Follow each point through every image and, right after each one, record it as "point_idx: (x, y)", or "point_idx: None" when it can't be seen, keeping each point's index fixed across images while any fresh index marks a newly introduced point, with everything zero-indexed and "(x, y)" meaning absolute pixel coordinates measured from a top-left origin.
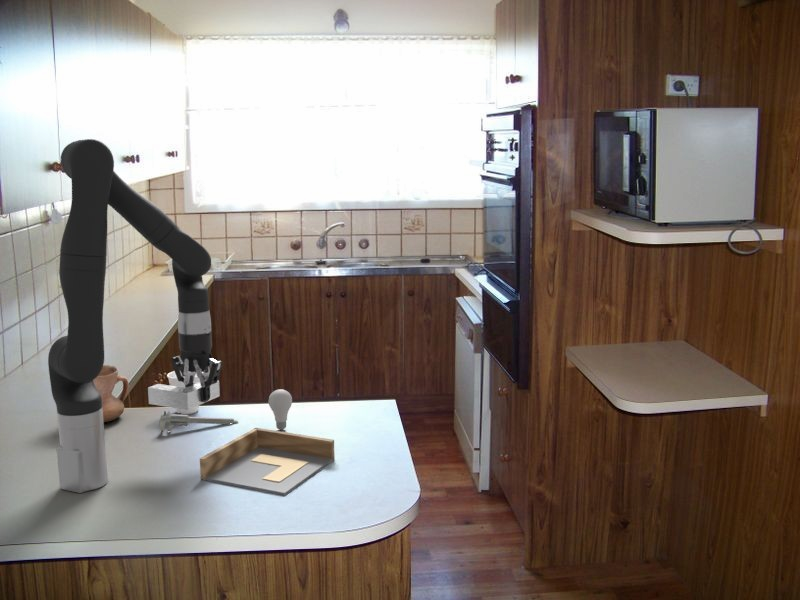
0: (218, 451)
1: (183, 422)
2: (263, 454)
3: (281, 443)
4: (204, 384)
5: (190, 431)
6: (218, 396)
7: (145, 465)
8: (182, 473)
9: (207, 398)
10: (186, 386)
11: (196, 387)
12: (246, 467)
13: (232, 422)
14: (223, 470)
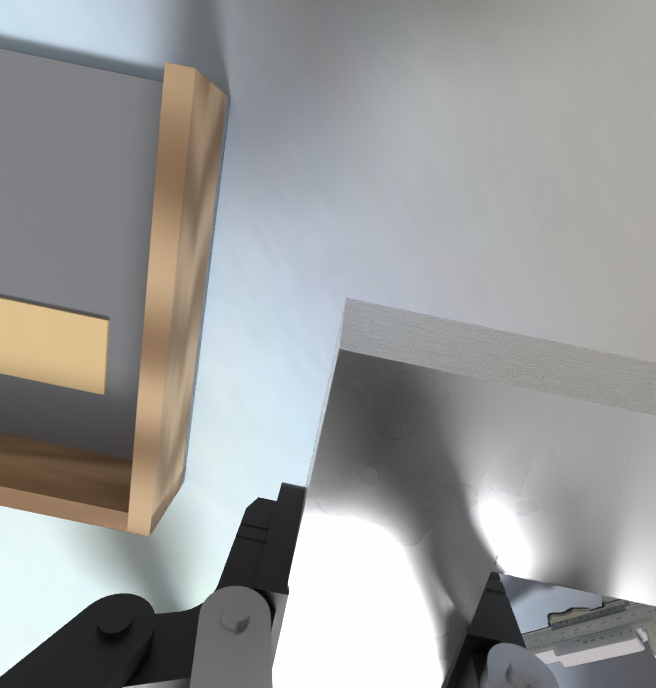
0: (155, 204)
1: (566, 623)
2: (93, 390)
3: (30, 459)
4: (205, 618)
5: (520, 589)
6: None
7: (565, 207)
8: (348, 151)
9: (248, 516)
10: (507, 641)
11: (345, 597)
12: (89, 249)
13: None
14: None
